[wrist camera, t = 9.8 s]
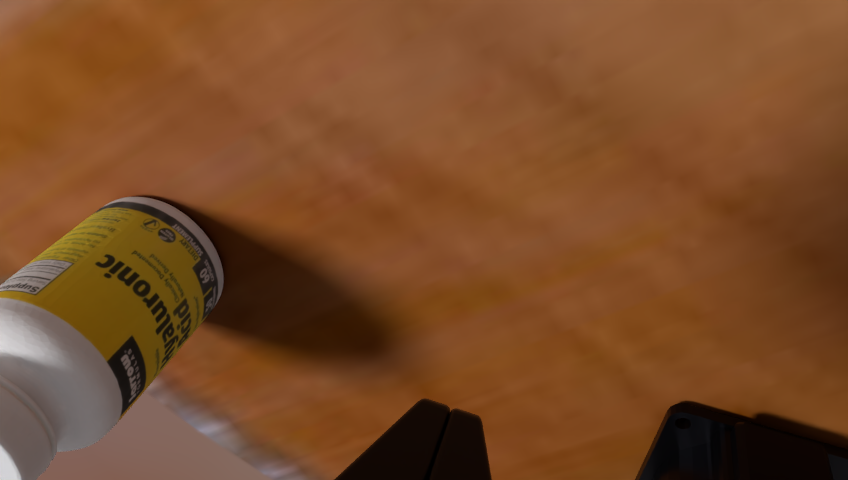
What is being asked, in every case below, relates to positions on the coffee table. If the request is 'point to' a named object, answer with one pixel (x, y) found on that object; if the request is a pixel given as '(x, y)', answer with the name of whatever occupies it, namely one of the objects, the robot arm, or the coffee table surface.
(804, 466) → the robot arm
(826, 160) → the coffee table surface
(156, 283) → the supplement bottle
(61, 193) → the coffee table surface
